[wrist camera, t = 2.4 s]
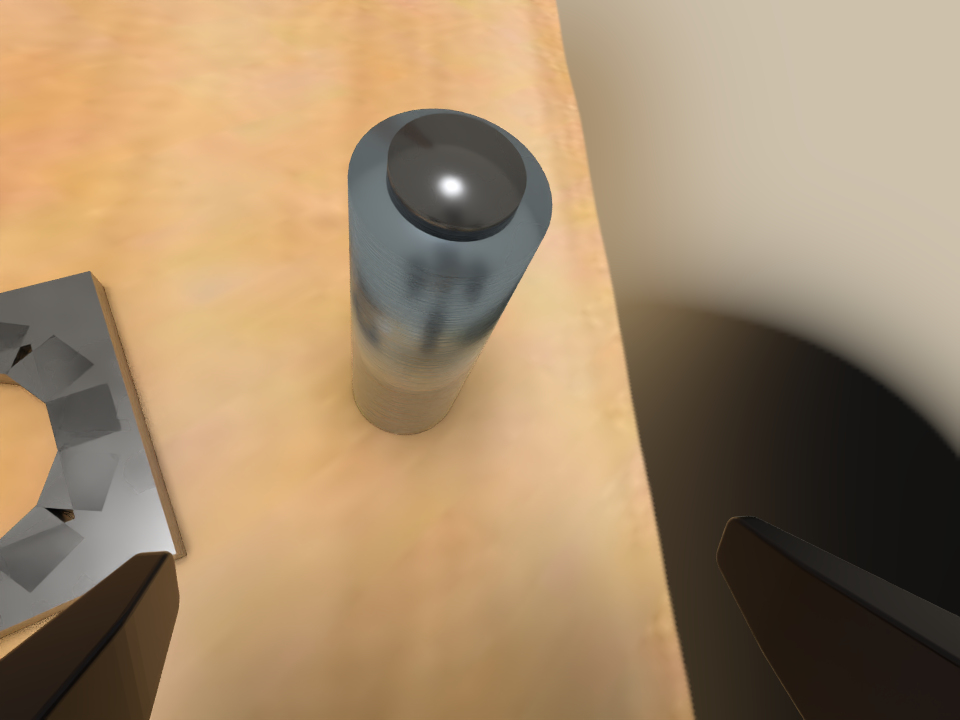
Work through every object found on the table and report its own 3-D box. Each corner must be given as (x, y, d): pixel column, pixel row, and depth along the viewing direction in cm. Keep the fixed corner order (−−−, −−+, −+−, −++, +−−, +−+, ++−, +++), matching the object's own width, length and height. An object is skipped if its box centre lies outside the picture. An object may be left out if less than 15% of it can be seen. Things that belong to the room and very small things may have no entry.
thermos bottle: (472, 410, 23) (599, 224, 11) (376, 451, 22) (403, 286, 9) (429, 325, 24) (502, 73, 12) (336, 358, 23) (313, 105, 11)
